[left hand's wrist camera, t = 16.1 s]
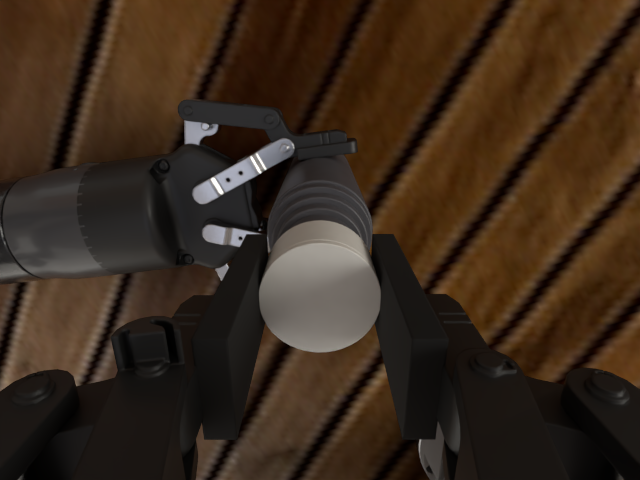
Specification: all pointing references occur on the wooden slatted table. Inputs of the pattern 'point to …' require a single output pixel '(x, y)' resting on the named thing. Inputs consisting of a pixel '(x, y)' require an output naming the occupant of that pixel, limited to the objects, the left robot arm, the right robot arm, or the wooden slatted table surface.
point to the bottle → (319, 198)
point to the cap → (319, 287)
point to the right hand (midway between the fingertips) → (359, 187)
